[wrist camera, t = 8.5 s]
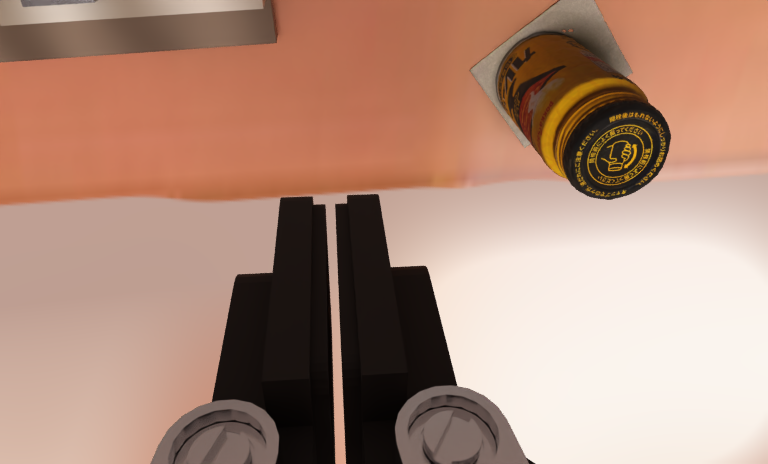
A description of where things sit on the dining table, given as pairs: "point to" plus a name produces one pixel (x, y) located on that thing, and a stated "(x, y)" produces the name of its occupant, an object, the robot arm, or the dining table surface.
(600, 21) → the condiment
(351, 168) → the dining table surface
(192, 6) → the grey brown double block
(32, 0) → the lock hardware
